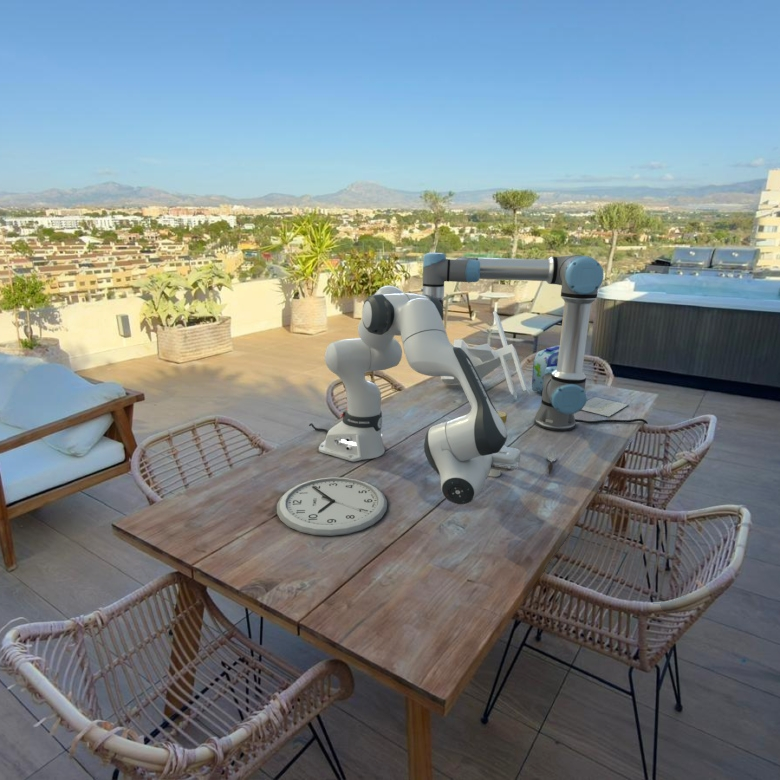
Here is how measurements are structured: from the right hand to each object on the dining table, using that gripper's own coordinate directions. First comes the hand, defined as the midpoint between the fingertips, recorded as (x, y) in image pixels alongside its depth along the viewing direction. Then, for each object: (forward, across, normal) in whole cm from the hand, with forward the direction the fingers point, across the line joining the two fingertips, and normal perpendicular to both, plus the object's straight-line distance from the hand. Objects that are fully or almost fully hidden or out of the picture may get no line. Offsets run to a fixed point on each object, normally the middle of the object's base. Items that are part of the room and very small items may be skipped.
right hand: (430, 357), depth 190 cm
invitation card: (+28, -38, +73) cm, 87 cm away
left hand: (+9, +55, +17) cm, 58 cm away
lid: (+8, +34, +22) cm, 42 cm away
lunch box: (+28, -59, +56) cm, 86 cm away
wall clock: (+28, +61, -23) cm, 71 cm away
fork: (+28, +26, +41) cm, 56 cm away
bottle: (+28, +34, +22) cm, 49 cm away
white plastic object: (+28, -50, +22) cm, 61 cm away
